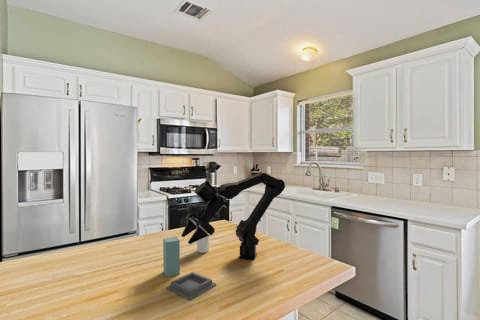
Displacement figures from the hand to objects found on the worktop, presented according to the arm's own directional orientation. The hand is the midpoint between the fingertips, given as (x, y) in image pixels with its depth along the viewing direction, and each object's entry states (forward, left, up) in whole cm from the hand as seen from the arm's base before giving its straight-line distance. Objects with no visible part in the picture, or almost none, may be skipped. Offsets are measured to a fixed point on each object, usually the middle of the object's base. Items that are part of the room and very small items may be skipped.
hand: (185, 239), depth 105 cm
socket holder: (-8, +12, -12) cm, 19 cm away
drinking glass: (+1, -20, -12) cm, 24 cm away
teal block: (+4, +4, -12) cm, 13 cm away
